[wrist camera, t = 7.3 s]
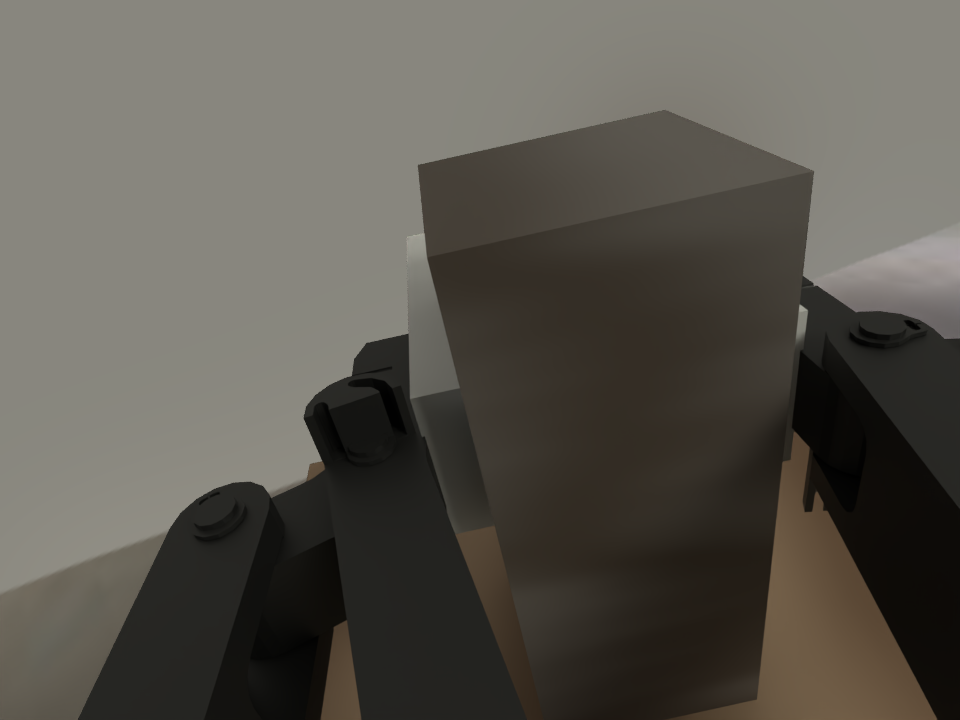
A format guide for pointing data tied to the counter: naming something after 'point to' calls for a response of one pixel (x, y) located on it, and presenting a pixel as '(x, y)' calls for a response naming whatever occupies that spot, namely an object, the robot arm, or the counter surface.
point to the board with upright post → (644, 434)
